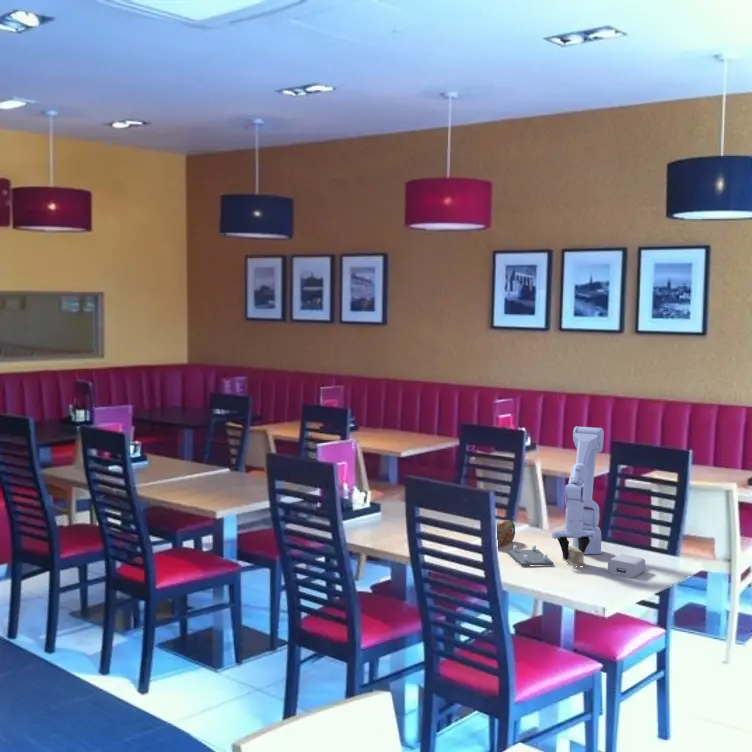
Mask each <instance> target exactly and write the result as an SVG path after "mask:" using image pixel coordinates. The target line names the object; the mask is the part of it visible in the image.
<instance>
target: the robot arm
mask: <svg viewBox="0 0 752 752" xmlns="http://www.w3.org/2000/svg"><path fill="white" fill-rule="evenodd" d="M604 432H605V431H604V429H603V428H602V427H589V426H577V425H576V426H574V428H573V431H572V441H573V443H574V446H575V448H576V460H575V464H574V465H572V466H571V470H570V473H569V479H568V484H566V485H565V486H564V504H565V524H564V525H565V528H564V530H559V531H552V532H551V538H552V539H554V540H557V541H558V544H559V545H560V548H561V553H562V555H563V558H564V559H565V560H567V559H568V546H570V541H569V540H568V539H572V546H575V547H576V548H578V549H579V550H580V551H582V552H583V553H584V555H602V553H603V552H602V531H601V529H600V527H599V522H600V507H599V504H598V503H597V502H596V501H594V500H593V492H594V480H595V468H596V459H597V455H598V454H599V453H601V452H602V451H603V449H604V437H605V436H604V435H605V433H604Z"/></svg>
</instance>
